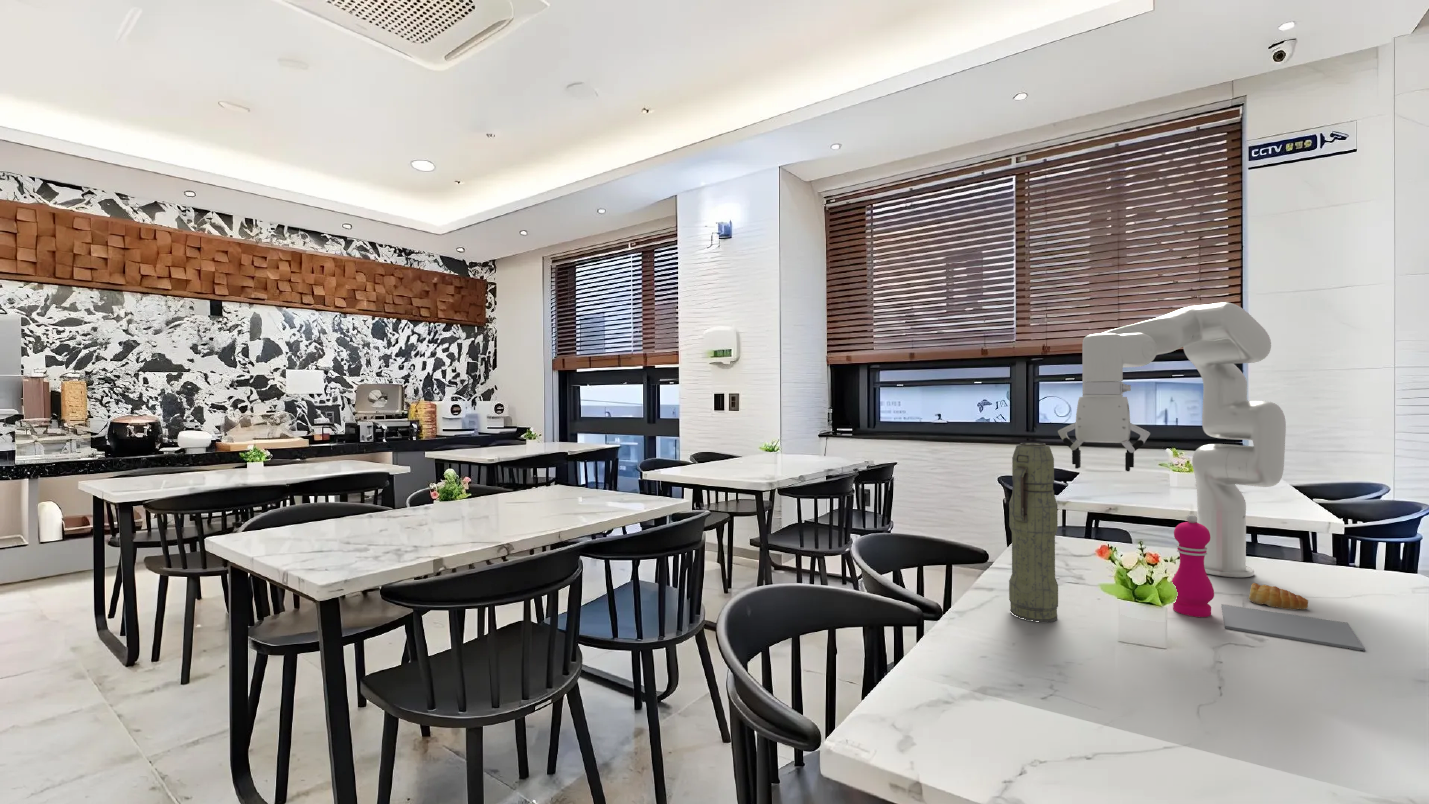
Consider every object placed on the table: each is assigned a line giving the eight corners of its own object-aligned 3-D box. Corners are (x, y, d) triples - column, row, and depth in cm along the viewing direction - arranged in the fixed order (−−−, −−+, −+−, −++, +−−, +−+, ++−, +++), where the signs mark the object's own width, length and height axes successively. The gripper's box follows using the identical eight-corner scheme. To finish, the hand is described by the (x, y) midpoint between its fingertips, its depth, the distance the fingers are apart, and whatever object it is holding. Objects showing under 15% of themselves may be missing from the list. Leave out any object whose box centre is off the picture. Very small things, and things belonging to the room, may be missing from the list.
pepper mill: (1174, 603, 136) (1174, 510, 136) (1217, 611, 131) (1217, 514, 131) (1166, 612, 131) (1166, 515, 131) (1210, 621, 126) (1211, 519, 126)
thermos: (998, 616, 130) (997, 444, 129) (1023, 603, 138) (1022, 440, 137) (1044, 628, 123) (1043, 446, 123) (1067, 613, 131) (1067, 442, 131)
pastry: (1308, 606, 134) (1308, 588, 134) (1307, 614, 130) (1307, 596, 130) (1250, 596, 141) (1250, 579, 141) (1247, 604, 136) (1247, 586, 136)
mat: (1221, 606, 134) (1221, 604, 134) (1347, 625, 123) (1347, 622, 123) (1224, 628, 122) (1224, 625, 122) (1365, 651, 111) (1365, 648, 111)
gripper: (1151, 390, 138) (1151, 470, 138) (1060, 390, 148) (1060, 465, 148) (1149, 390, 132) (1149, 473, 132) (1055, 390, 142) (1055, 468, 142)
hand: (1102, 469), depth 140 cm, fingers open, 9 cm apart
